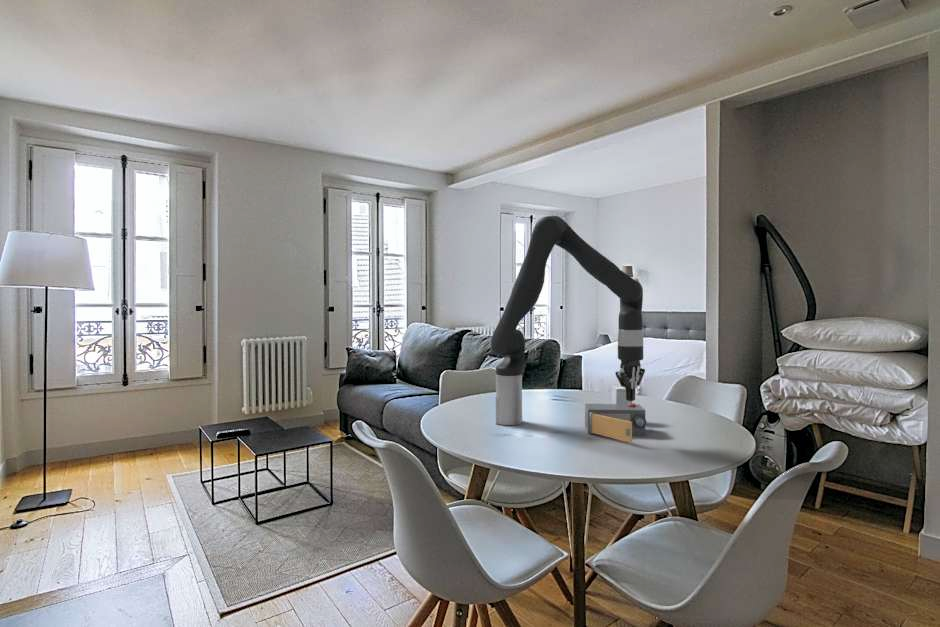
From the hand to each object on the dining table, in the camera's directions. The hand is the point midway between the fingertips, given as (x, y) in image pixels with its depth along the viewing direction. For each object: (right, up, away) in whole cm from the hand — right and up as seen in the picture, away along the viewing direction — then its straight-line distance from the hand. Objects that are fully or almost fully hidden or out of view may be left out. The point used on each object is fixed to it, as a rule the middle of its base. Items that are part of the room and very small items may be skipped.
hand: (630, 400), depth 157 cm
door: (-6, -12, +2) cm, 14 cm away
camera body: (-2, -12, +12) cm, 17 cm away
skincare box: (+5, -12, +25) cm, 28 cm away
